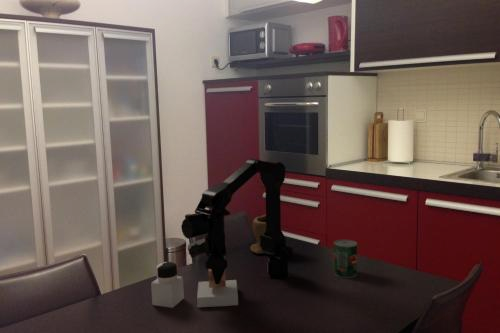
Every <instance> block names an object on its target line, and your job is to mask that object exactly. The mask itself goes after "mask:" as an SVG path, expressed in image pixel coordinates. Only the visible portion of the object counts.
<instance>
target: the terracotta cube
mask: <svg viewBox="0 0 500 333" xmlns="http://www.w3.org/2000/svg"><path fill="white" fill-rule="evenodd" d="M226 280H227V279H226V269H225V270H224V273H223V275H222V278H221V281H220V283H219V284H215V280H214V277H213V273H212V270H211V269H208V281H209V288H212V287H226Z"/></svg>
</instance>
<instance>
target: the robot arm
mask: <svg viewBox="0 0 500 333" xmlns="http://www.w3.org/2000/svg"><path fill="white" fill-rule="evenodd" d="M256 174H259V175H260V181H261V182H262V185H263V186H264V188H265V214H266V231H265V232H264V234H263V235H260V246H261V249H262V251H263V252H264V253H263V255H264V256H265V257H267V258H268V260H267V261H266V266H267V267H266V268H267V275H268V276H269V278H270V279H283V278H286V279H287V278H289V277H290V275H289V261H290V260H292V259H293V252H292V250H290V249H289V247H288V246H287V241H286V239H287V238H286V237H285V235H284V232H283V231H282V227H281V226H282V223H281V222H282V221H281V220H282V218H281V217H282V215H281V211H282V210H281V187H282V185H283V184H284V181H285V180H286V178H285V177H286V166H285V165H284V164H283V163H282V162H281V161H272V160H260V159H257V158H249V159H247V160H246V161H245V163H243V165H241V166H240V167H238V169H237V170H236V171H234V172H233V173H232V174H231V175H230V176H229V177H227V178H226V179H225V180H224V181H222V182H220V183H219V184H215V185H213V186H211V187H209V188H207V189H206V190H204V191H203V193H201V198H200V201H199V203H198V205H197V206H196V208H195V210H194V213H189V214H185V215H184V219H183V220H182V222H181V226H180V227H181V228H180V229H181V232H182V234H183V237H184V238H186V239H187V240H188V239H192V238H197V237H201V236H205V237H204V238H202V239H198V240H195V241H194V242H191V243H189V244H188V245H187V247H186V248H187V251H188V255H190V257H191V259H194V258H196V257H197V256H199V255H201V254H204V253H205V255H206V257H205V261H204V262H205V263H204V265H205V269H206V270H209V269H211V270H212V273H213V277H214V280H215V284H219V283H220V281H221V278H222V275H223V273H224V270H225V271H226V269H227V268H228V258H227V252H226V251H227V242H226V230H225V228H226V224H225V223H226V222H225V217H226V216H230V215H231V212H230V211H228V209H226V208H227V206H228V205H229V204H230V203H231V201H232V197H233V195H234V194H235V193H236V192H237V191H239V189H241V188H242V186H244V185H245V184H246V183H247V182H249V180H250V179H252V178H253V177H254V176H255V175H256Z"/></svg>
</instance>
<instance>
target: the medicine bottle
mask: <svg viewBox="0 0 500 333" xmlns="http://www.w3.org/2000/svg"><path fill="white" fill-rule="evenodd" d="M155 270H156V279H155V280H153V281H152V282H151V283H150V284H151V285H150V287H151V303H152V306H155V307H156V306H157V307H162V308H163V307H164V308H170V309H173V308H175V306H177V305H178V304H180V302H182V300H184V299H185V292H184V276H180V275H178V265H177V263H175V262H171V261H164V262H161V263H158V264H157V265H156V269H155Z"/></svg>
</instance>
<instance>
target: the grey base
mask: <svg viewBox="0 0 500 333" xmlns="http://www.w3.org/2000/svg"><path fill="white" fill-rule="evenodd" d="M225 280H226V287H212V288H209V280H208V281H207V280H206V281H198V285H197V294H196V295H197V296H196V299H197V300H196V302H197V305H196V306H197V308H209V307H212V308H213V307H227V306H228V307H229V306H239V294H238V284H237V279H232V280H231V279H229V280H227V279H225Z"/></svg>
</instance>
